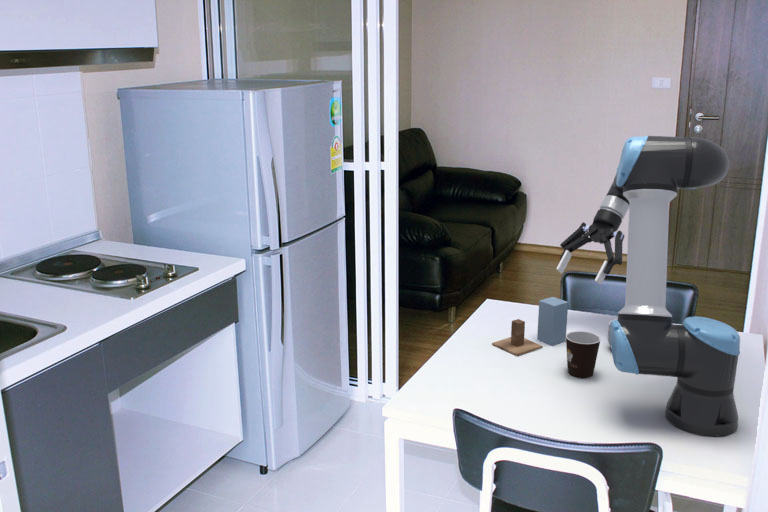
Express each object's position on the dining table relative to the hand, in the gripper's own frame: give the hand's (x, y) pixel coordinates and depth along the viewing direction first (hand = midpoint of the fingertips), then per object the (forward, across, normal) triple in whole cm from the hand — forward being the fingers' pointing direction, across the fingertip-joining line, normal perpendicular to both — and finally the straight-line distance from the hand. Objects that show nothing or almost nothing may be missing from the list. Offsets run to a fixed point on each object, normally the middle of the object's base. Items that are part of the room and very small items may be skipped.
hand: (577, 276), depth 208 cm
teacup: (+13, -19, -12) cm, 26 cm away
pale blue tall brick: (+20, +1, -4) cm, 20 cm away
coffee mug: (+26, -17, +4) cm, 32 cm away
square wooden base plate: (+26, +4, +5) cm, 27 cm away
